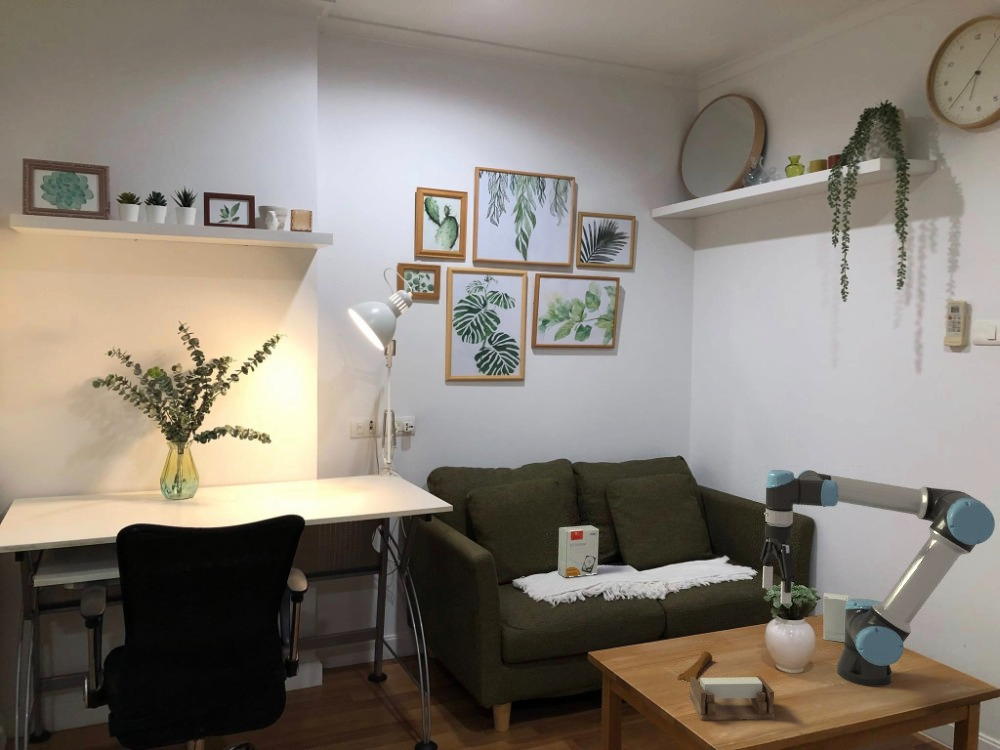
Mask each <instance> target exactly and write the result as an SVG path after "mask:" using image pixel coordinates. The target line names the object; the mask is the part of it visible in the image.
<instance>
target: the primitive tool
mask: <svg viewBox="0 0 1000 750" xmlns="http://www.w3.org/2000/svg"><path fill="white" fill-rule="evenodd" d="M710 661H711V662H712V661H713V655H712V654H711V653H710V652H709V651H707V650H705V651H703V652H701V655H700V657H698V659H697V660H696V661H695V662H694V663H693V664H692V665H691V666H690V667H688V669H686V670H685V671H683V672H682V673H679V675H678V676H677V678H676V679H677V681H681V680H684V681H687V682H686V683H688V682H690V677H695V678H696V680H698V677H699V676H700V674H701V672H702V671H703V669H704V668H705V666H706V665H707V664H708V663H711V662H710ZM684 681H683V682H684Z"/></svg>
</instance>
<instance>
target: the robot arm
mask: <svg viewBox="0 0 1000 750" xmlns="http://www.w3.org/2000/svg"><path fill="white" fill-rule="evenodd" d="M838 503H843V504H844V503H845V504H848V505H849V504H850V505H857V506H861V507H862V506H863V507H868V508H874V509H879V510H880V509H881V510H885V511H889V512H890V511H892V512H896V513H897V512H898V513H903V514H909V515H915V516H916V517H917V519H919V520H923V521H928V522H932V523H931V525H930V526H929V527H928V529H929V535H930V536H929V538H928V539H927V540H926V541H925V543H924V544H923V546H922V547H921V549H920V550H919V551H918V552H917V553H916V555H915V557H914V558H913V559H912V561H911V562H910V563H909V564H908V566H907V568H905V570H904V572H903V573H902V574H901V576H900V577H899V578H898V580H897V581H896V583H895V584H894V586H892V588H891V589H890V591H889V592H888V594H887V595H886V596H885V598H884V599H883V600H882V601H879V600H875V599H869V598H849V600H848V601H847V602H846V608H845V610H846V612H845V641H844V642H843V643H844V645H843V649H842V651H841V654H840V656H839V659H838V662H837V664H836V673H837V674H838V675H839V676H840V677H841V678H842V679H844V680H846V681H849V682H851V683H855V684H857V685H863V686H868V687H883V686H888V685H890V684H891V683H892V682H893V672H892V669H891V665H893V664H895V663H897V662H898V661H899V660H900V659H901V658H902V656H903V653H904V647H905V646H904V643H905V641H906V640H907V638H908V637H909V636H910V634H911V633H912V629H911V622H912V621H913V620H914V618H915V617H916V616H917V614H918V612H920V610H921V609H922V607H923V606H924V605H925V604H926V602H927V601H928V600H929V598H931V597H930V596H931V595H932V594H933V592H934V591H935V590H936V589H937V587H938V586H939V584H940V583H941V582H942V580H944V578H945V576H946V575H947V573H948V572H949V571H950V570H951V569H952V567H953V566H954V564H955V563H956V561H957V560H958V559H959V557H961V555H962V556H963V555H968V554H970V553H971V552H972V551H973V549H974V548H975V546H977V545H980V544H982V543H985V542H986V541H988V540H989V539H990V537H992V535H993V533H994V531H995V526H996V523H995V517H994V514H993V513H992V511H991V510H990V509H989V507H988V506H987V505H986V504H985V503H984V502H982V501H981V500H978V499H977V498H974V497H973V496H971V495H970V494H968V493H966V492H964V491H961V490H956V489H955V490H954V489H945V488H937V487H936V488H935V487H929V486H921V487H920V488H919V489H918V488H913V487H907V486H901V485H894V484H888V483H882V482H875V481H870V480H869V481H868V480H863V479H862V480H861V479H856V478H850V477H844V476H838V475H833V474H825V473H820V472H817V471H815V470H812V469H811V470H810V469H807V470H806V469H805V470H802V471H801V472H799V473H798V474H797V476H796V477H795V474H794V472H793V471H790V470H785V469H771V470H769V471H768V472H767V474H766V484H765V512H763V514H764V516H765V522H766V523H765V524H764V542H763V545H762V550H761V555H760V558H759V560H760V562H762V563H761V564H762V566H763V567H762V589H773V581H774V580H773V577H774V567H773V566H774V561H775V559H776V560H777V561H778V565H779V570H780V573H781V577H782V578H781V579H780V604H792V584H793V583H792V582H796V580H797V579H796V571H795V564H794V558H793V547H792V545H788V544H787V543H788V542H787V541H788V540H790V539H791V538H792V537H793V526H792V524H793V522H794V520H793V519H794V509H793V508H794V505H796V506H797V505H798V506H799V505H800V506H811V507H812V506H813V507H814V506H815V507H823V508H826V507H836V506H837V505H838Z"/></svg>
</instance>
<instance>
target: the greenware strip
mask: <svg viewBox="0 0 1000 750" xmlns="http://www.w3.org/2000/svg"><path fill="white" fill-rule="evenodd" d="M699 679H700V680H699V682H700V686H701V687H702V689H703V690H704V691H705V699H706V693H714V698H757V692H762V682H761V681H760V680H759V679H758V678H757V677H756V676H753V677H752V676H751V677H749V676H748V677H747V676H746V677H744V676H742V677H739V676H738V677H735V676H734V677H700V678H699Z"/></svg>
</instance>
